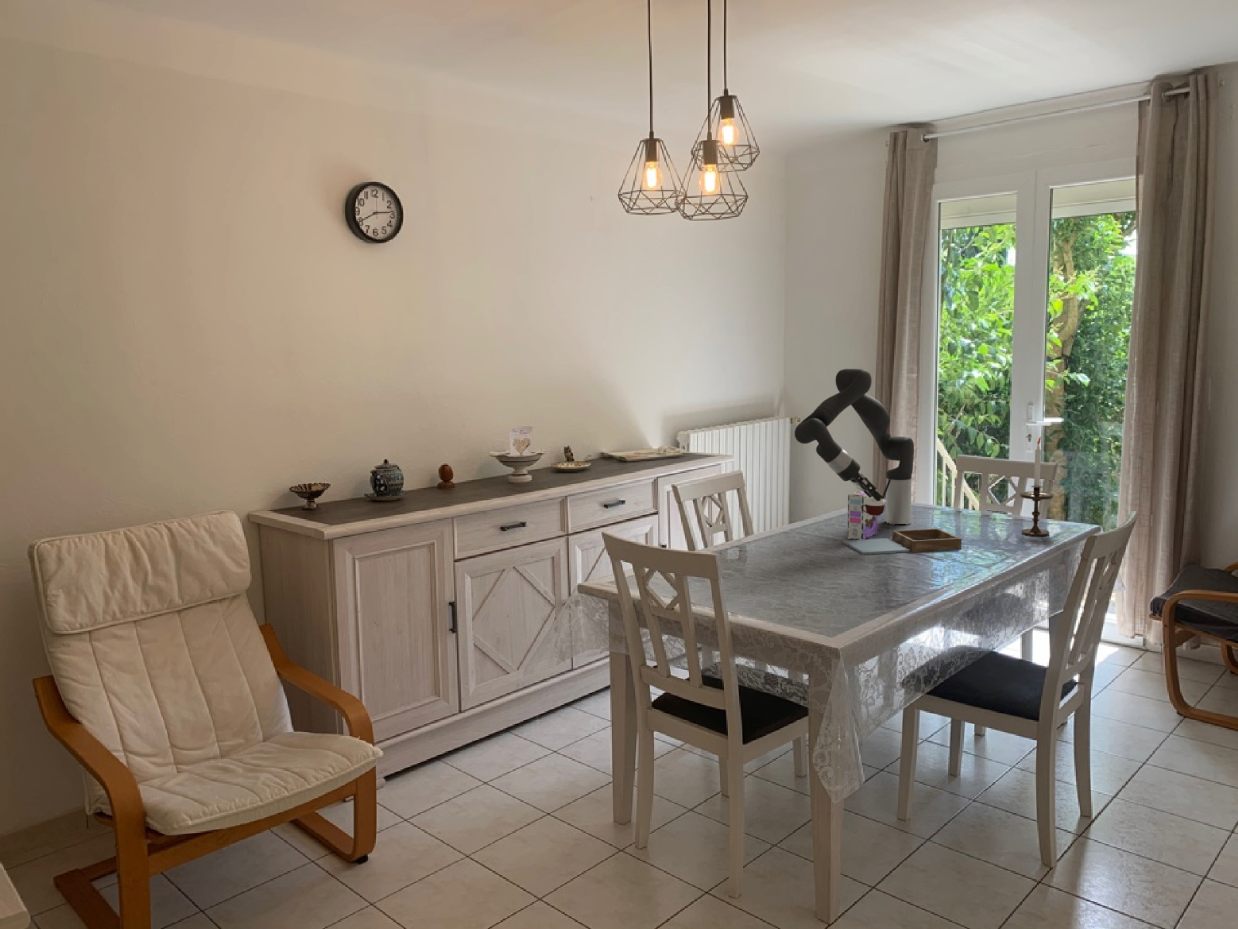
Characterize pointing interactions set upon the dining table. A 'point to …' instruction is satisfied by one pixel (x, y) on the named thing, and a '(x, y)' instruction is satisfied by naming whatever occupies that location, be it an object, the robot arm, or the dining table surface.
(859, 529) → the candy box
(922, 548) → the bin
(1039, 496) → the candlestick
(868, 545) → the board
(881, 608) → the dining table surface
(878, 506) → the cocoa
